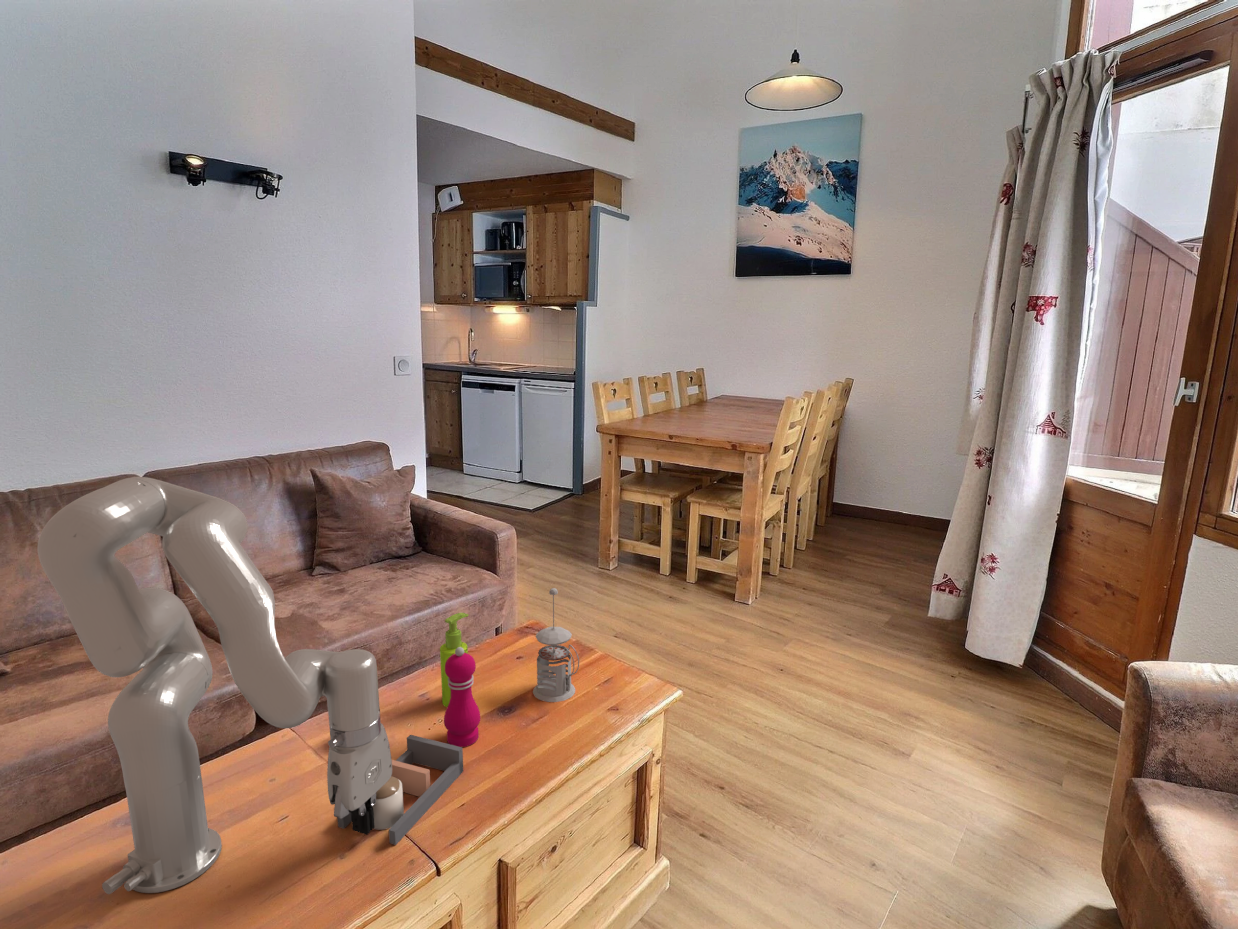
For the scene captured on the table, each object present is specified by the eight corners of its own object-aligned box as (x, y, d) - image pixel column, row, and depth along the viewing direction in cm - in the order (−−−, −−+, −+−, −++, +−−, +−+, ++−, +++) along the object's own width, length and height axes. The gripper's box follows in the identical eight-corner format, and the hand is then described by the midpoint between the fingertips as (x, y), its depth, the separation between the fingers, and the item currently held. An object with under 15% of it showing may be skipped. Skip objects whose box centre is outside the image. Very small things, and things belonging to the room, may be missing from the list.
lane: (395, 845, 111) (394, 818, 110) (338, 827, 115) (335, 800, 114) (463, 771, 130) (462, 747, 129) (411, 757, 134) (410, 734, 133)
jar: (389, 833, 114) (387, 801, 113) (359, 824, 116) (356, 793, 115) (410, 809, 120) (409, 779, 118) (381, 801, 121) (379, 771, 120)
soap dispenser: (478, 697, 155) (475, 614, 151) (455, 711, 150) (452, 625, 146) (459, 689, 159) (456, 608, 154) (436, 703, 153) (432, 619, 149)
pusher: (426, 798, 122) (425, 773, 121) (389, 788, 125) (387, 763, 124) (430, 794, 123) (429, 769, 122) (393, 784, 126) (392, 759, 125)
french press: (552, 675, 165) (551, 577, 160) (590, 691, 159) (590, 588, 154) (523, 692, 158) (522, 590, 152) (562, 709, 151) (562, 602, 146)
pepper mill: (472, 751, 136) (469, 658, 132) (438, 746, 137) (434, 654, 133) (486, 730, 143) (483, 641, 139) (454, 726, 144) (450, 637, 140)
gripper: (340, 761, 100) (349, 869, 104) (405, 709, 114) (411, 806, 118) (300, 750, 103) (310, 856, 107) (368, 700, 117) (375, 795, 120)
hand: (363, 829), depth 112 cm, fingers closed
